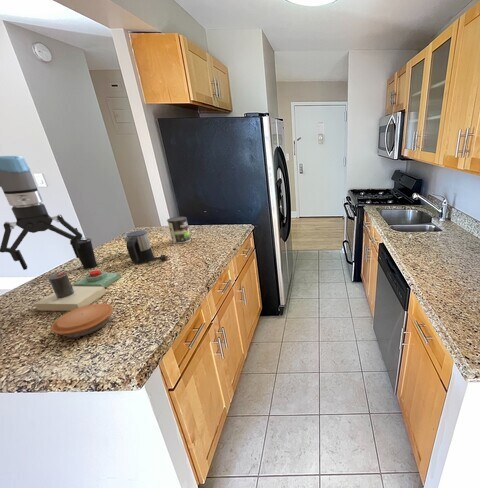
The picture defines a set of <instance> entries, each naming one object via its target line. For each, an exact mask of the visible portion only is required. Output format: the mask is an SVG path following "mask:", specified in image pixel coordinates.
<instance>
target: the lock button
mask: <svg viewBox="0 0 480 488" xmlns="http://www.w3.org/2000/svg"><path fill="white" fill-rule="evenodd" d="M100 271H101V270H100V269H95V270H92V271H90V272H89V273H88V275H89V274H90V276H91V277H96V276H99V275H101V272H100Z"/></svg>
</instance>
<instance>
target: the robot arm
mask: <svg viewBox="0 0 480 488" xmlns="http://www.w3.org/2000/svg"><path fill="white" fill-rule="evenodd" d="M0 188H1V190H2V192H3V194H4V196H5V198H6V200H7V203H8V205H9V206H10V207H11V212H12V214H13V215H14V217H15V219H16V221H12V222H10V221H4V223H3V229H4V233H3V236H2V240H1V244H0V253H9V254H10V256H11V258H12V260H13V261H14V262H19V264H20V266H21V267H22V270H23V271H25V270H26V271H27V270H28V264H27V263H26V261H25V258H24V256H23V255H22V253H21V250H20V249H18V247H19V246H20V244H21V243H22V241H24V238H26V236H27V234H28V233H32V234H34V233H38V232H46V231H48V230H49V231H51V232H53V233H56V234H58V235H60V236H63V237H65V238H66V239H69V244H70V243H71V244H70V246H71V248H72V250H73V252H74V255H75V258H76V259H79V254H78V251H77V249H78V248H80V246H79V243H78V241H77V240H78V239H79V238H83V233H81V232H80V231H79V230H78V229H77V230H78V231H77V230H76V229H75V228H76V227H73V225H71V224H70V223H69V222H68V221H67V220H65V219H64V217H63V215H62V214H57V215H54V216H50V215H49V212H48V210H47V207H46V205H45V204H44V203H43V202H44V201H43V199H42V196H41V193H40V191H39V188H38V187H37V184H36V181H35V179H34V177H33V174H32V172H31V168H30V167H29V166H28V163H27V161H26V160H25V158H24V157H23V156H21V155H0ZM53 221H55V222H56V223H60V224H61V225H62V226H63V227H64V228H66V229H67V230H68V231H70V232H71V233H69V232H67V231H65V230H63V229H61V228H59V227H57V226H55V225H54V224H52V222H53ZM16 226H17V227H18V228H20V229H22V231H21V232H20V233H19V235H18V236H17V238H16V239H15V241H13V243H12V245H11V246H10V247H8V245H9V241H10V239H11V238H10V237H11V234H12V230H14V229H15V227H16Z"/></svg>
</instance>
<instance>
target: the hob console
mask: <svg viewBox="0 0 480 488" xmlns="http://www.w3.org/2000/svg"><path fill="white" fill-rule="evenodd" d="M72 287H73V290H74V293H73V294H72V295H70V296H67V297H64V298H57V297H56V295H55V292H54V291H53V293H50V294H49V295H47V296H45V297H43V298H41V299H39V300H37V301H36V302H34V303H33V304H34V306H35V309H36V311H53V312H54V311H55V312H60V311H61V312H70V311H72V310H74V309H77V308H79V307H83V306H86V305H91V304H93V303H94V302H95V301H97V300H99V299H100V298H101V297H103V296H104V295H106V294H107V290H106V287H105V288H104V287H87V286H74V285H72Z"/></svg>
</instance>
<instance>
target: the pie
mask: <svg viewBox="0 0 480 488" xmlns="http://www.w3.org/2000/svg"><path fill="white" fill-rule="evenodd" d="M113 311H114V307H113V306H112V304H109V303H91V304H89V305H86V306H83V307H79V308H77V309H74V310H72V311H67V312H66V313H65V314H63V315H61V316H60V317H59V318H57V319H56V320H55V321H54V322H53V323H52V325H51V327H50V330H51V332H53V333H54V334H57V335H61V336H64V337H66V338H80V337H84V336H87V335H91V334H92V333H94V332H97V331H98V330H100V329H101V328H103V327H104V326H105V325H106V324H107V323H108V321H109V319H110V317H111V315H112V314H113Z"/></svg>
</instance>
